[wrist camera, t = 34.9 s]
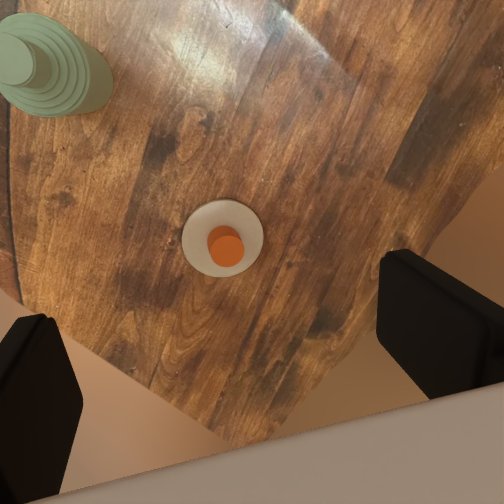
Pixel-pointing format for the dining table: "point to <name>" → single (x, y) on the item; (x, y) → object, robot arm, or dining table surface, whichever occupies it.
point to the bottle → (50, 68)
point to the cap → (225, 246)
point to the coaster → (212, 217)
